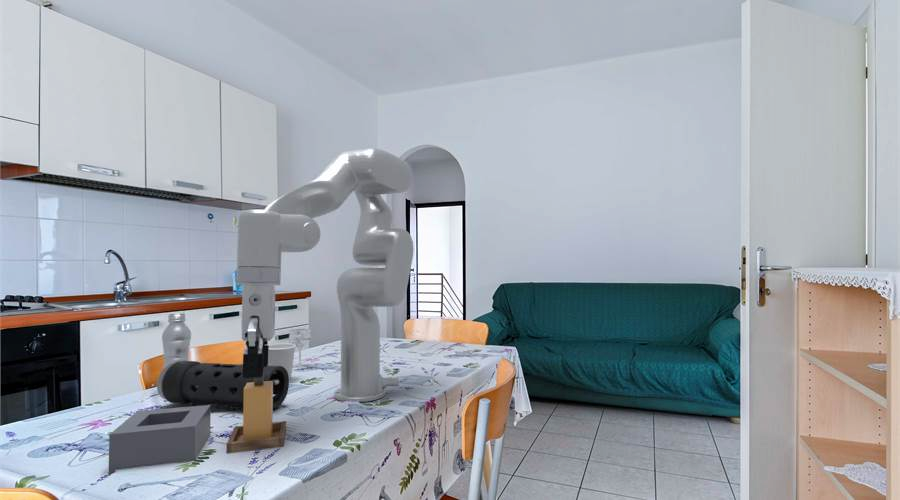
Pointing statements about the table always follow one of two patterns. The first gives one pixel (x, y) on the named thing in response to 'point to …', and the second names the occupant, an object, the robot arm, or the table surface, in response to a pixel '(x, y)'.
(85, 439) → the table surface
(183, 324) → the plastic bottle
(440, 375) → the table surface
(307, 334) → the wineglass
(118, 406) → the table surface
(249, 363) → the robot arm
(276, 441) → the tray
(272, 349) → the dixie cup
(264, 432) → the plug
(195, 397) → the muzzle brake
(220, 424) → the table surface
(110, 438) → the socket block
